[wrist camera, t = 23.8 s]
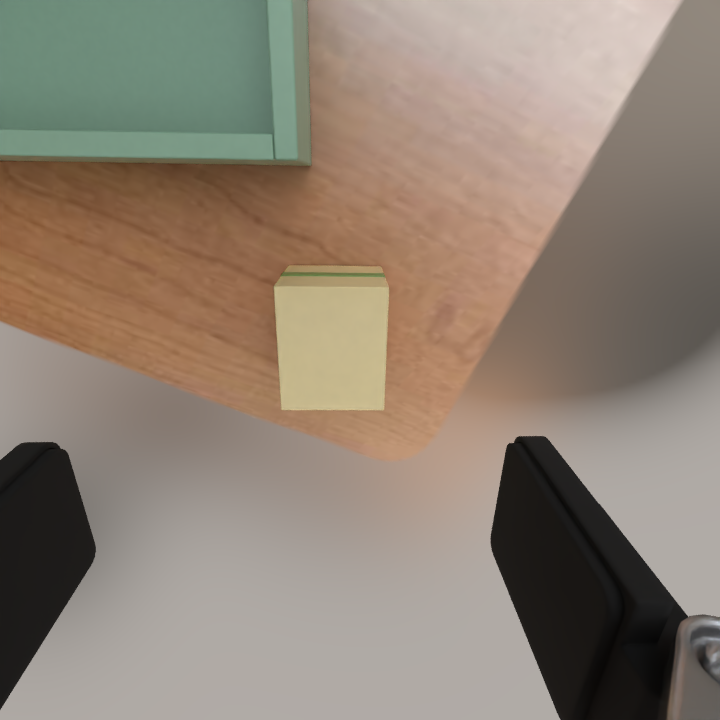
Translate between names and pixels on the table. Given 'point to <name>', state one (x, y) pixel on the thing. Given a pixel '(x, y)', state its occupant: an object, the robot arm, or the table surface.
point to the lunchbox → (155, 81)
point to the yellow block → (332, 337)
